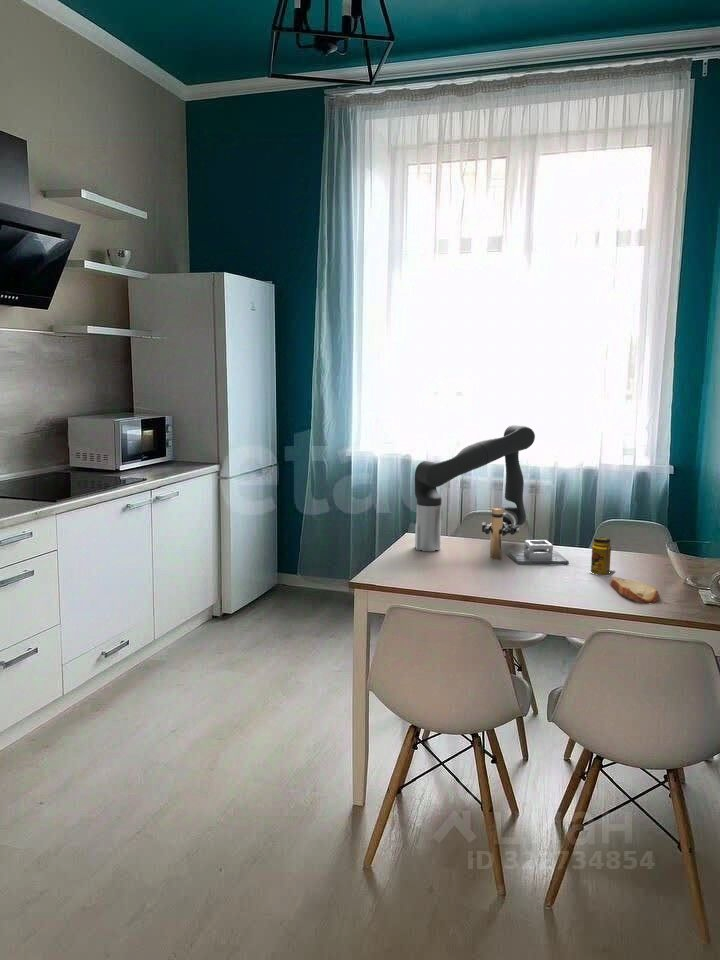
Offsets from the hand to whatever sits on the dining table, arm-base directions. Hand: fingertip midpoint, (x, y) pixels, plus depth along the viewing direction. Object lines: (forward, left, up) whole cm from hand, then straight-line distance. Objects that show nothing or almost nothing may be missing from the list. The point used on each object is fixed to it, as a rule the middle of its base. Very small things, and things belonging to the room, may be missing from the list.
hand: (495, 532), depth 263 cm
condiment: (+33, -17, -10) cm, 38 cm away
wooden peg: (+1, +2, -10) cm, 10 cm away
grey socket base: (+16, 0, -10) cm, 19 cm away
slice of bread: (+34, -40, -11) cm, 53 cm away
